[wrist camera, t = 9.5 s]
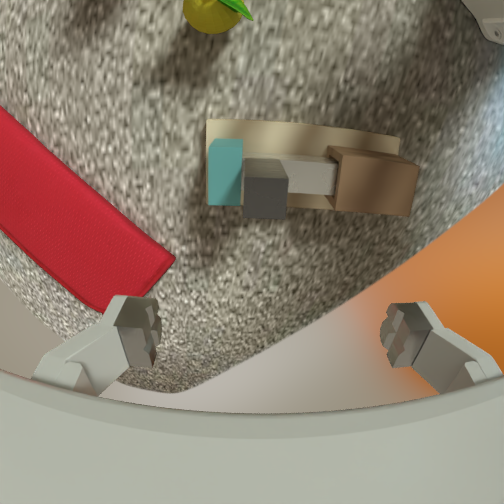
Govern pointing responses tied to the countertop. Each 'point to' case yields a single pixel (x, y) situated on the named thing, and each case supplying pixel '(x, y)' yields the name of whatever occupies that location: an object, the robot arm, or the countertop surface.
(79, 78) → the countertop surface
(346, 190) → the walnut sleeve
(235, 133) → the stand board
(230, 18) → the lemon
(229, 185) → the teal socket
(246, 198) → the grey l-shaped block
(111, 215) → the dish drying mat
